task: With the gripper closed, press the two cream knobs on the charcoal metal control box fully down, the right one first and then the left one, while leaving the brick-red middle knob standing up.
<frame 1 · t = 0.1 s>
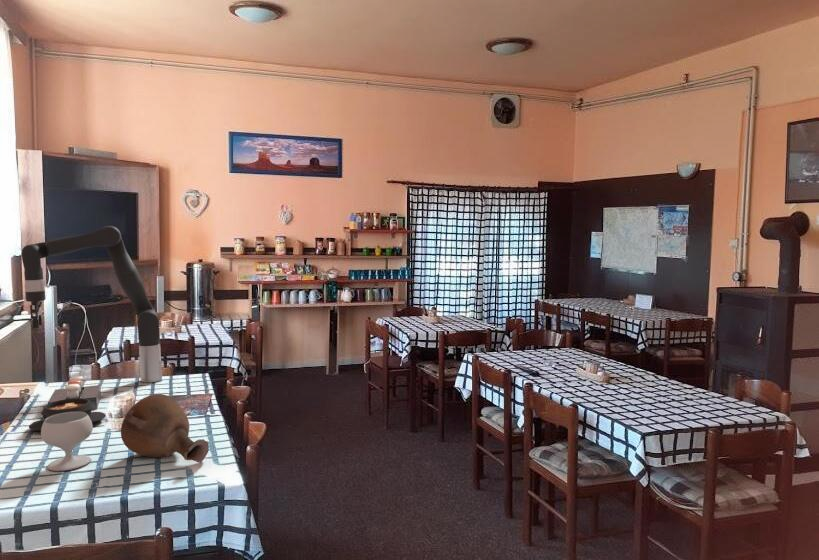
hand: (37, 326, 274), 29 cm above the table, fingers open, 8 cm apart
jug: (168, 458, 197), on the table
middle knob: (74, 388, 255), point 7 cm above the table, slide at 0.0 cm
left knob: (72, 392, 248), point 7 cm above the table, slide at 0.0 cm
casserole: (68, 426, 230), on the table
right knob: (76, 384, 261), point 7 cm above the table, slide at 0.0 cm
chalice: (69, 464, 193), on the table
control box: (76, 405, 256), on the table
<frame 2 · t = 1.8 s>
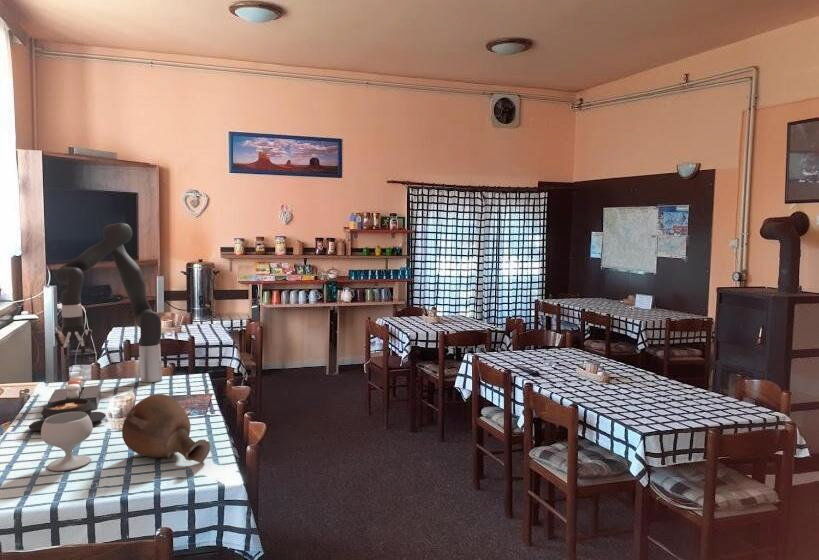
hand: (74, 355, 260), 19 cm above the table, fingers open, 5 cm apart
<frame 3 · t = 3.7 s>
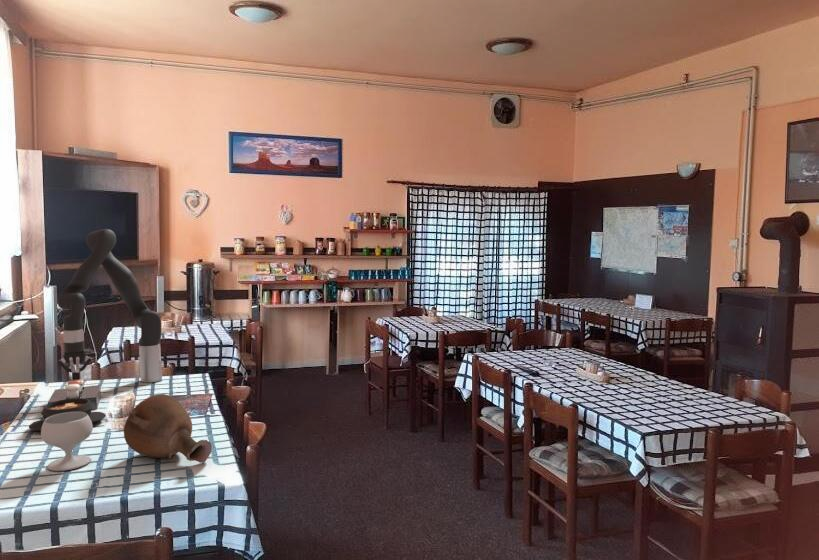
hand: (76, 381, 261), 8 cm above the table, fingers closed
right knob: (77, 388, 261), point 5 cm above the table, slide at 1.6 cm, touching gripper
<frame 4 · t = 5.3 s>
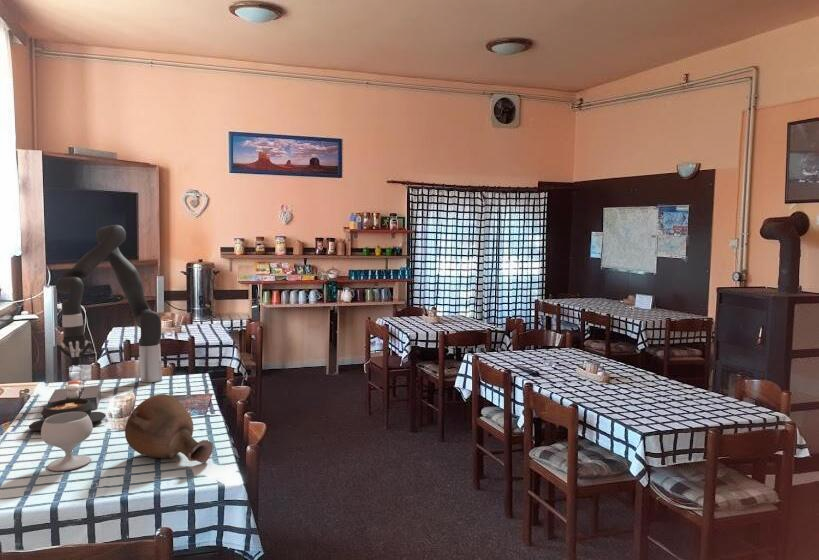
hand: (76, 365, 260), 15 cm above the table, fingers closed
right knob: (77, 392, 262), point 3 cm above the table, slide at 3.6 cm
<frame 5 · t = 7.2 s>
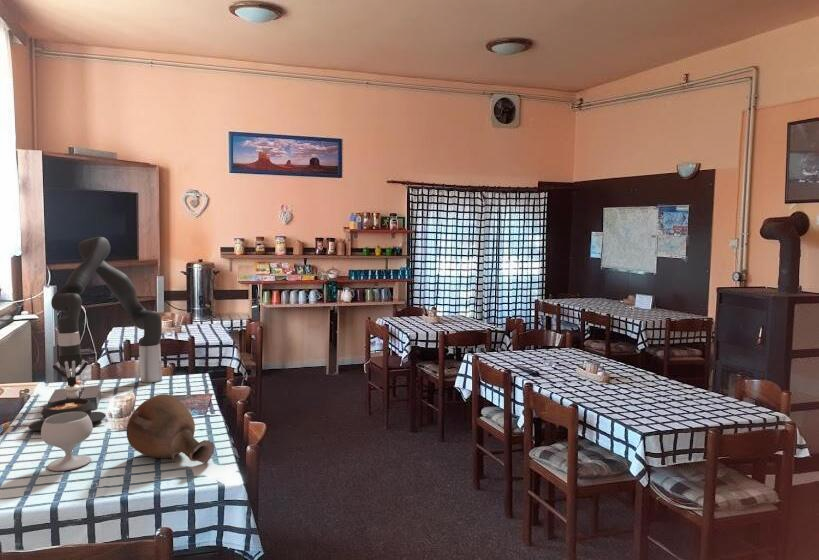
hand: (72, 386, 248), 10 cm above the table, fingers closed
left knob: (72, 393, 248), point 7 cm above the table, slide at 0.3 cm, touching gripper
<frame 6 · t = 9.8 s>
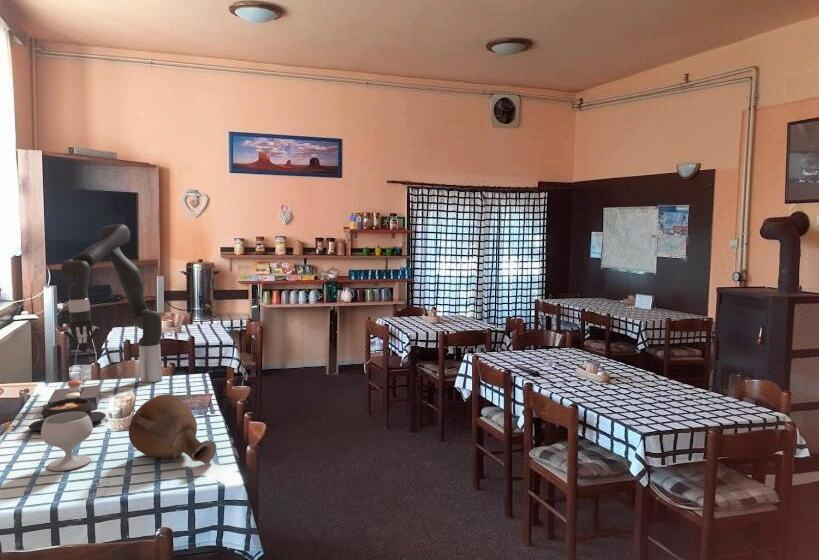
hand: (83, 351, 254), 22 cm above the table, fingers closed
left knob: (73, 401, 249), point 3 cm above the table, slide at 3.6 cm
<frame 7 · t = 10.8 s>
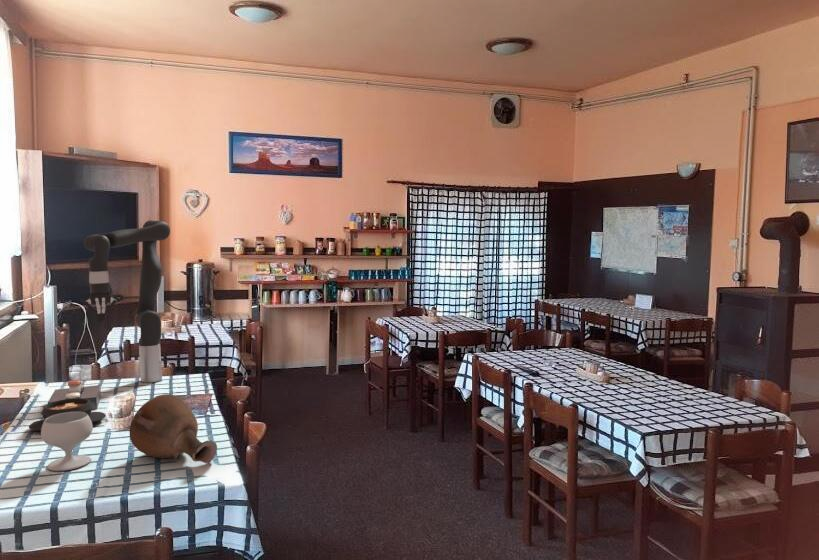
hand: (102, 321, 267), 32 cm above the table, fingers closed
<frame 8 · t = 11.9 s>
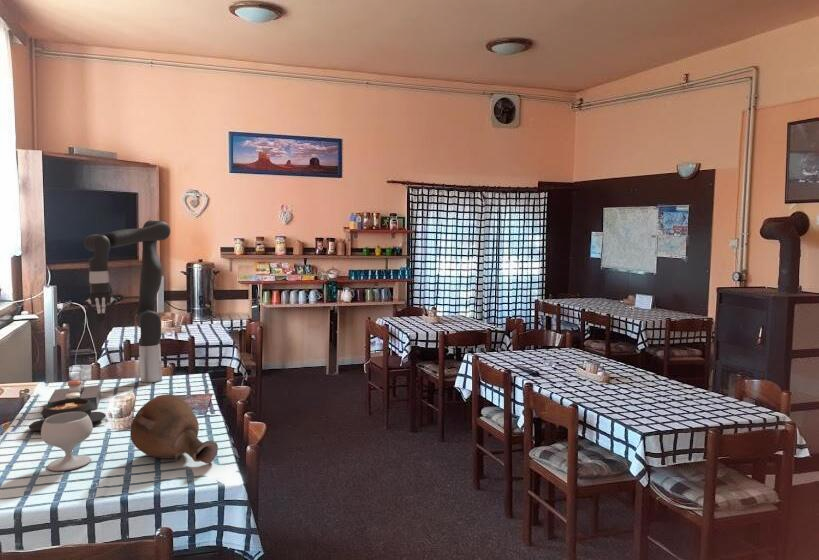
hand: (102, 321, 267), 32 cm above the table, fingers closed
at the end: right knob slide at 3.6 cm; left knob slide at 3.6 cm; middle knob slide at 0.0 cm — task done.
